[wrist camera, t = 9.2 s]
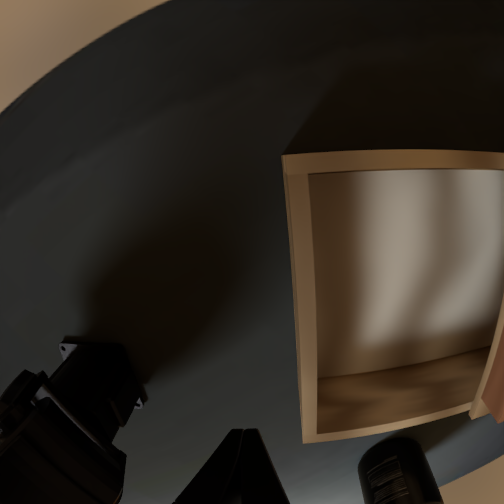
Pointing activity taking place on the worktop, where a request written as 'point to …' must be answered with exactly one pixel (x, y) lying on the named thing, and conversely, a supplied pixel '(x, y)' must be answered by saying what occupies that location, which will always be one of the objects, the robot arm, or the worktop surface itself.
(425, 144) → the worktop surface
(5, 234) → the worktop surface
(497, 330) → the mailer lid
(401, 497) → the supplement bottle
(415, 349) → the mailer box
